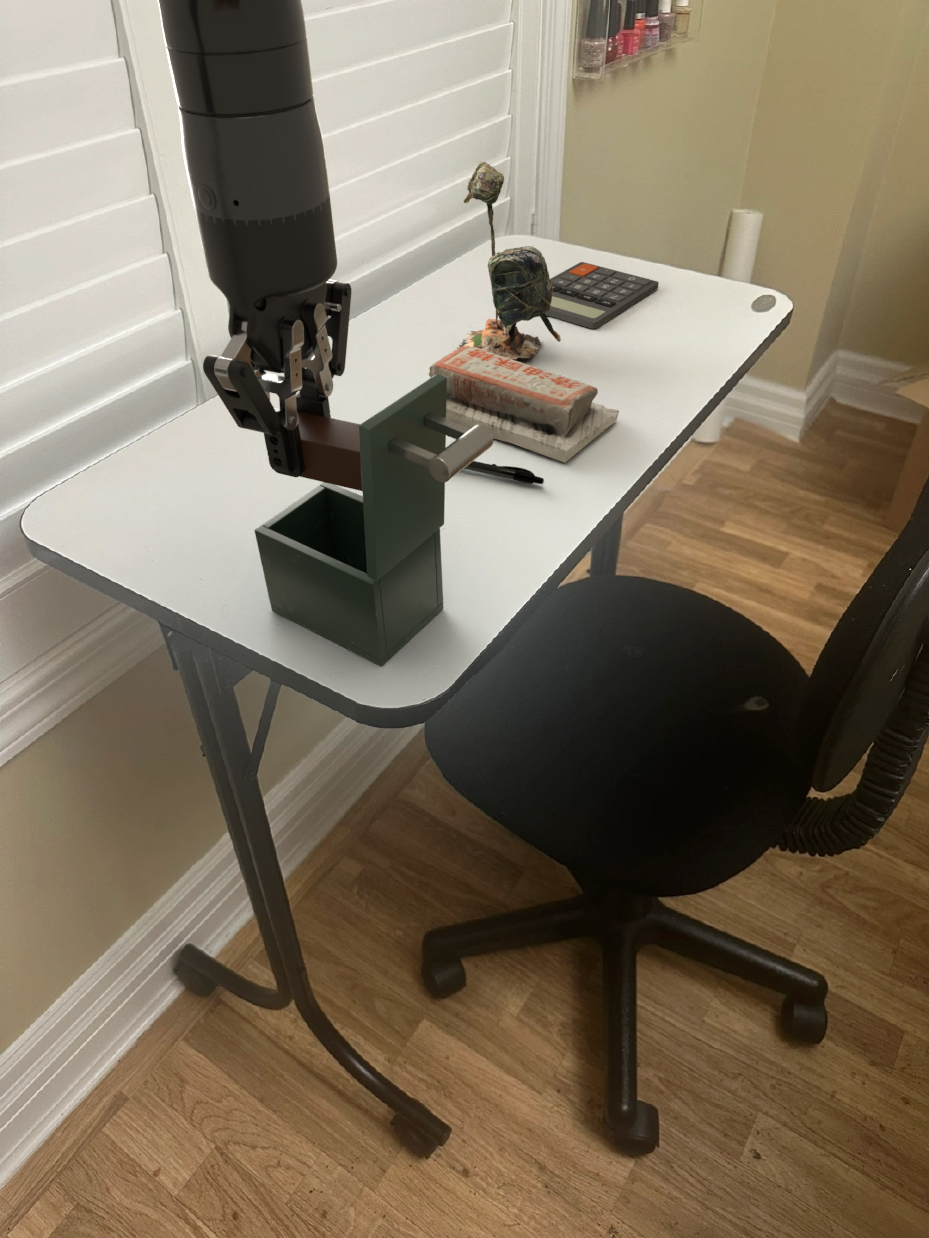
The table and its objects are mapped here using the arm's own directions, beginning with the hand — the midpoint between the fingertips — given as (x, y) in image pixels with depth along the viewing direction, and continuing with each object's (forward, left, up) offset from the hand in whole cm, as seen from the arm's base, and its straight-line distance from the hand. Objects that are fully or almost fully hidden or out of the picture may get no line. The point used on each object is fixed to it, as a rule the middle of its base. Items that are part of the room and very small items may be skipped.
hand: (304, 457), depth 62 cm
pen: (+16, +14, -13) cm, 25 cm away
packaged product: (+23, +22, -13) cm, 35 cm away
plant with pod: (+27, +36, -13) cm, 47 cm away
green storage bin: (+2, -2, -13) cm, 13 cm away
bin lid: (+5, -6, +1) cm, 8 cm away
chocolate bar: (+2, -2, 0) cm, 3 cm away
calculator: (+41, +47, -13) cm, 64 cm away
